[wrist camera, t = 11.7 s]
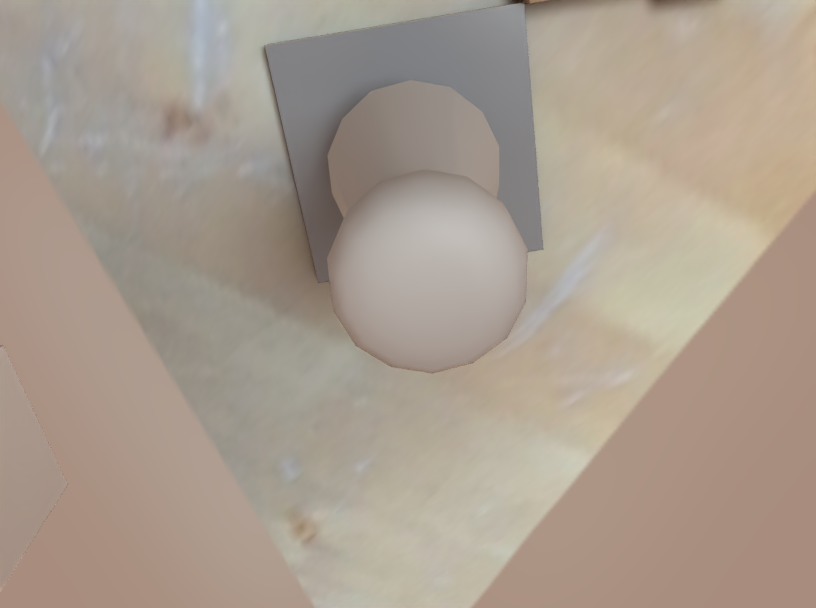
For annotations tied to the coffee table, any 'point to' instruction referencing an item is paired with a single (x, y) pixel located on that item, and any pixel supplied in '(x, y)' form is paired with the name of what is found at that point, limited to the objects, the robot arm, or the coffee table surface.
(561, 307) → the coffee table surface
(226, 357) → the coffee table surface
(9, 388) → the robot arm
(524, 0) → the brown wooden frame
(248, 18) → the coffee table surface
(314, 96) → the coaster
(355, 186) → the salt shaker
